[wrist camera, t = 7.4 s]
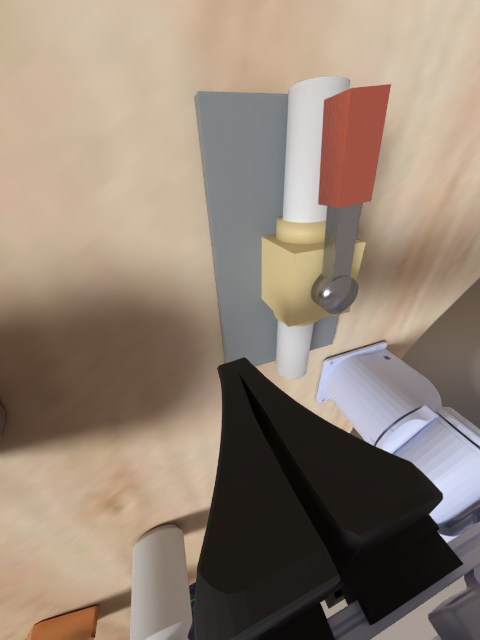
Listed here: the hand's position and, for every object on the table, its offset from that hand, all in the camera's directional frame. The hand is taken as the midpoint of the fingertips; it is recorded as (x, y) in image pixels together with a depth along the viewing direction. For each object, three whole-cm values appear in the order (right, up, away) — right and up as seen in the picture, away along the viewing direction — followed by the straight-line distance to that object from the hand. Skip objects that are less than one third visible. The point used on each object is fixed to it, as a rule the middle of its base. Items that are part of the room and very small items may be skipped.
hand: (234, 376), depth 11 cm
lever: (+5, +8, +2) cm, 10 cm away
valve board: (+4, +8, +9) cm, 12 cm away
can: (-13, -32, +27) cm, 43 cm away
